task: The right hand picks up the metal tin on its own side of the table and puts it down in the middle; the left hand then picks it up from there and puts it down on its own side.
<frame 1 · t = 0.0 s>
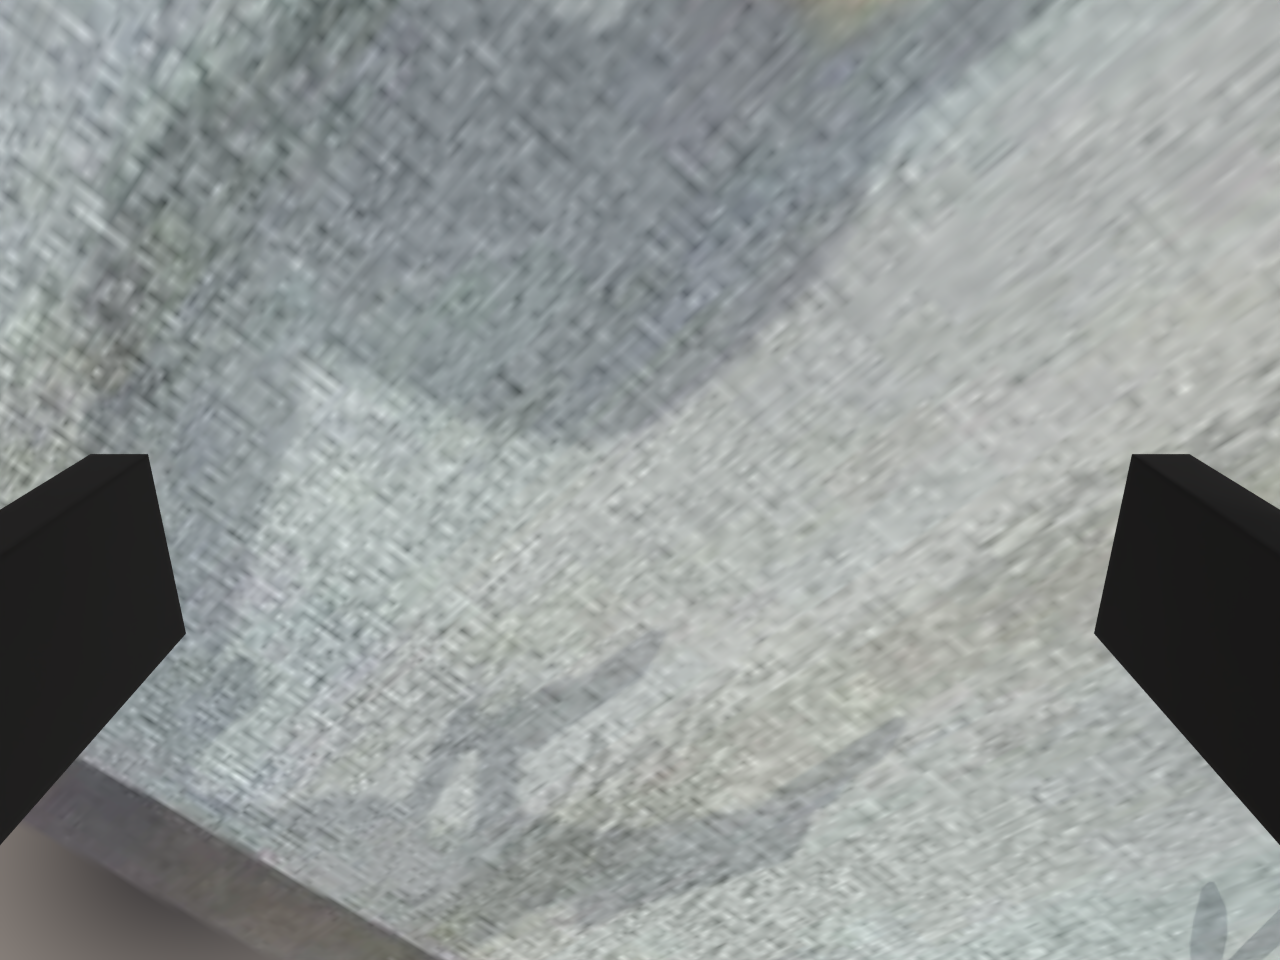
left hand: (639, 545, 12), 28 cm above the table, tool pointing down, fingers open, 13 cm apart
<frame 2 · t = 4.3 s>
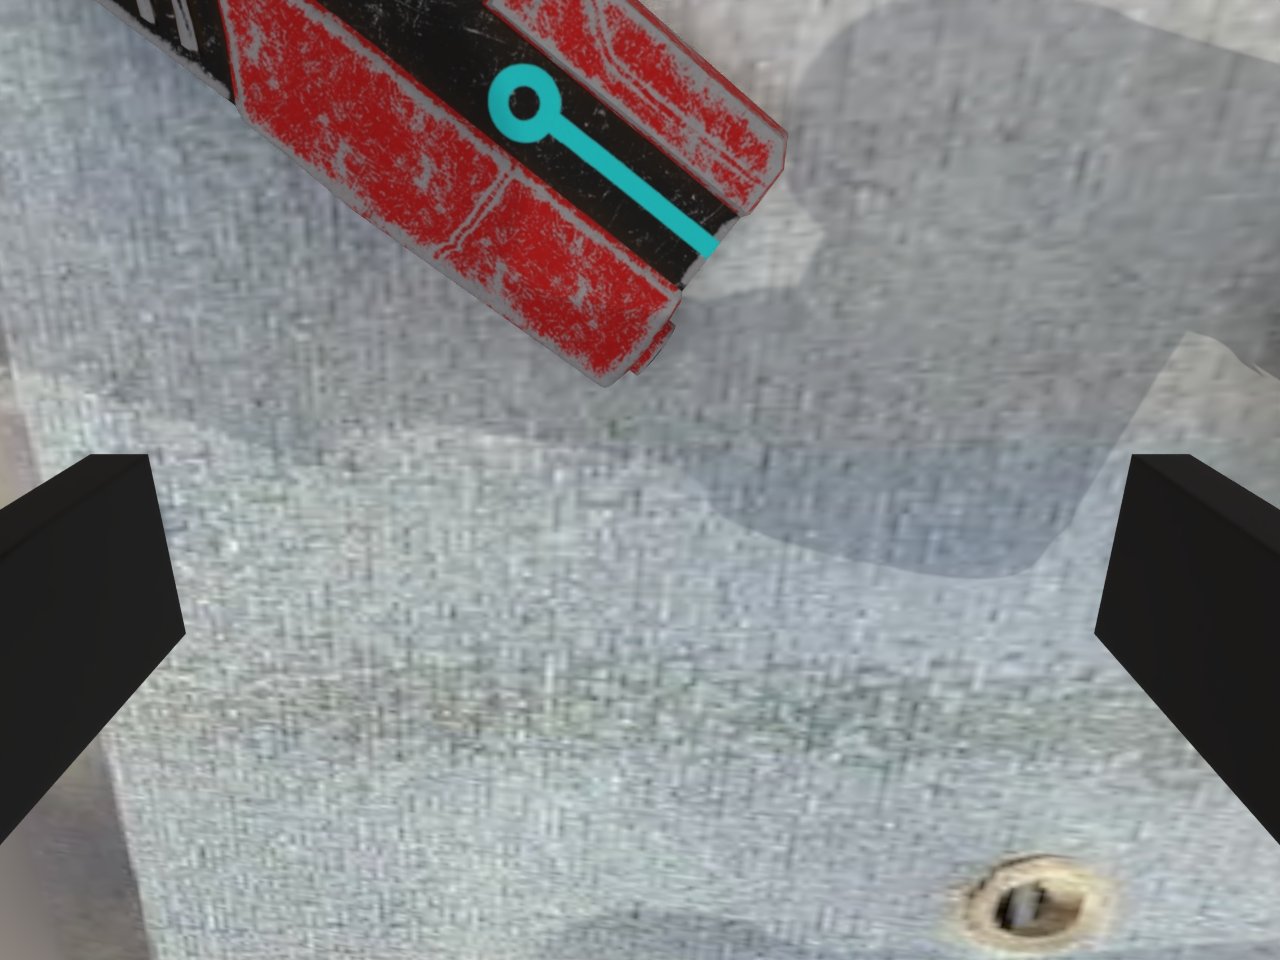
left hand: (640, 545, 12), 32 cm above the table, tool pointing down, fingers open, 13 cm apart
gun: (456, 3, 38), on the table
when the right hand's fingers open (3 cm above the table, at t = 12.3 s): tin drops 2 cm, on the table.
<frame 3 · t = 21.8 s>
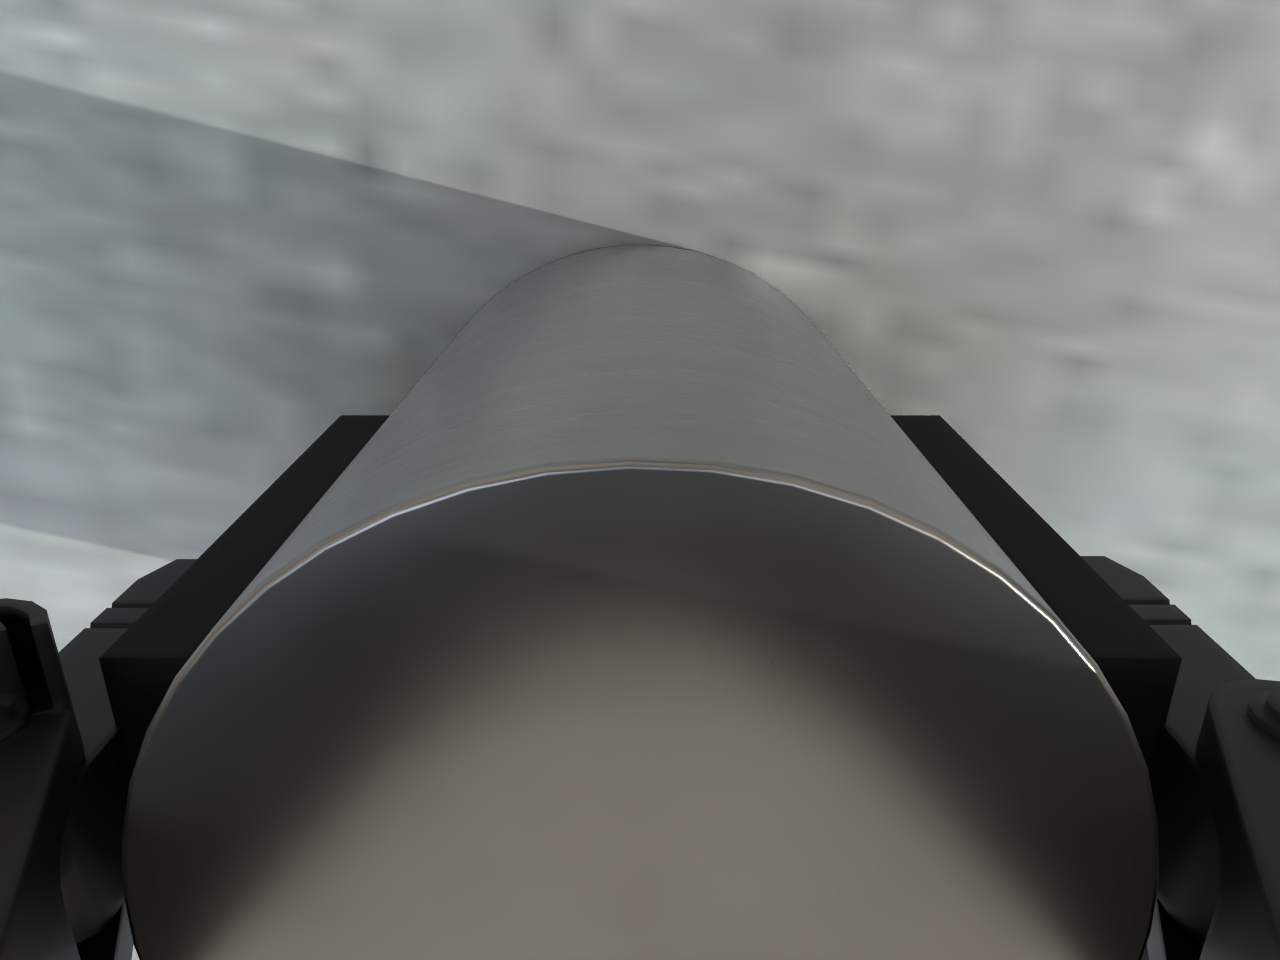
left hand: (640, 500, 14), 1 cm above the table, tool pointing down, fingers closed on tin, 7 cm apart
tin: (640, 469, 15), on the table, touching left hand
when the left hand's fingers open (3 cm above the table, at t = 30.4 s): tin drops 1 cm, on the table.
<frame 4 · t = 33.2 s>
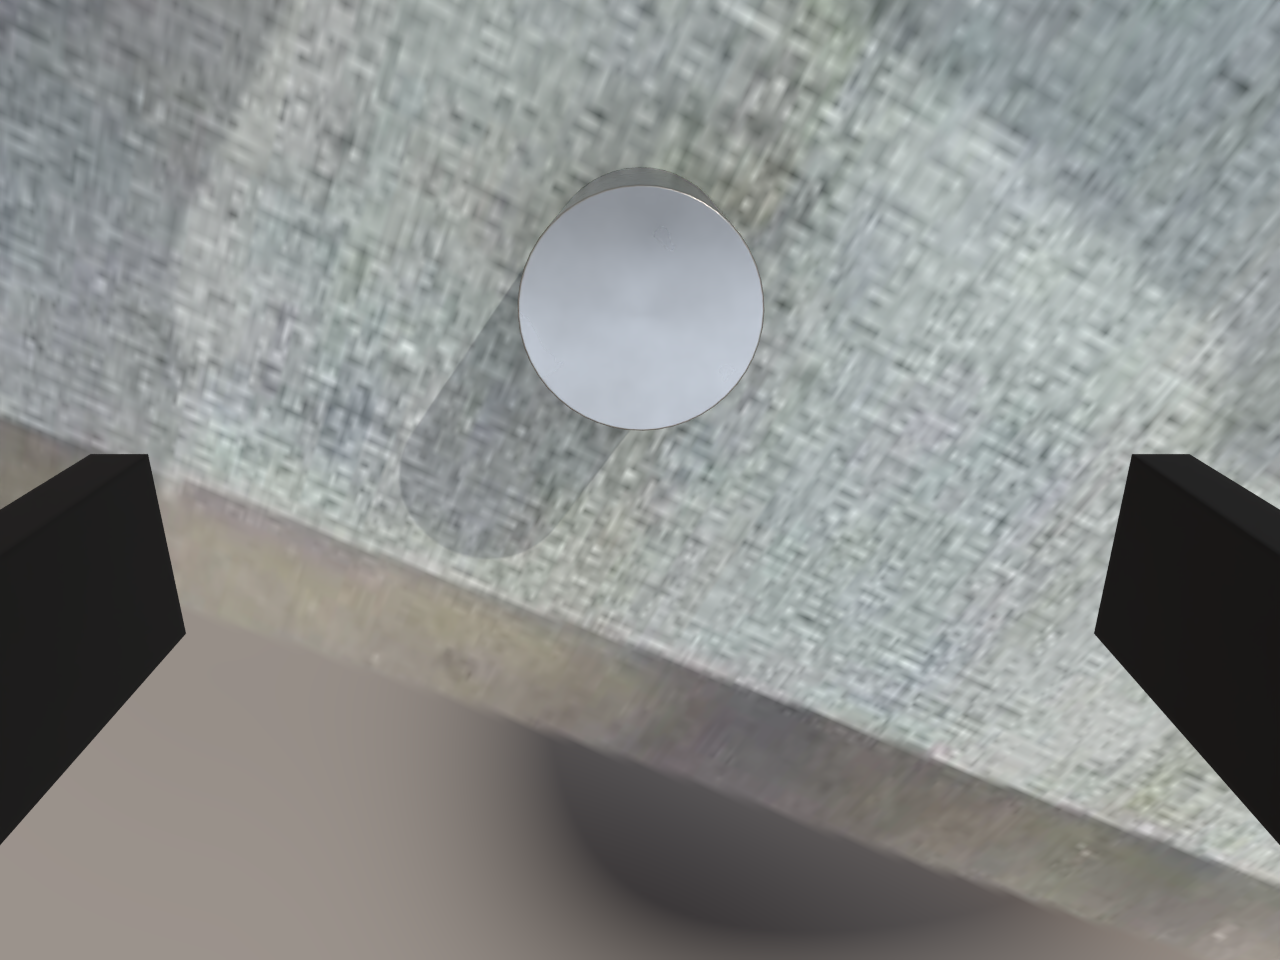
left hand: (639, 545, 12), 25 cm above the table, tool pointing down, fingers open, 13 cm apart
tin: (640, 265, 36), on the table
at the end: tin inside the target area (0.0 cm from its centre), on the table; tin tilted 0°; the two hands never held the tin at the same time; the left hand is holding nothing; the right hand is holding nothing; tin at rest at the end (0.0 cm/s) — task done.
